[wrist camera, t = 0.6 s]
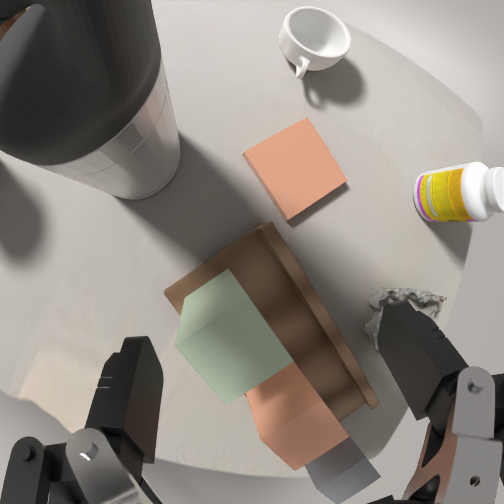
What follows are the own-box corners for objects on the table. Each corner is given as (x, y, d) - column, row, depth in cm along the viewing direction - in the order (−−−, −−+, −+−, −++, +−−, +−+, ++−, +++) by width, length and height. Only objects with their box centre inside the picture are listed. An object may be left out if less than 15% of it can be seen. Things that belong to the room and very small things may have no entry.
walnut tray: (165, 289, 29) (160, 297, 25) (263, 222, 30) (272, 221, 27) (293, 442, 33) (300, 458, 29) (367, 391, 34) (380, 403, 31)
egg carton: (429, 290, 35) (450, 296, 31) (416, 342, 35) (434, 351, 31) (371, 280, 33) (391, 286, 29) (356, 340, 33) (373, 353, 29)
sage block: (184, 297, 27) (174, 345, 16) (228, 268, 28) (248, 296, 16) (215, 338, 28) (226, 404, 16) (257, 309, 29) (293, 361, 17)
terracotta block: (237, 366, 29) (260, 439, 17) (278, 339, 29) (322, 400, 18) (263, 397, 30) (295, 470, 18) (301, 372, 30) (349, 436, 18)
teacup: (283, 22, 29) (295, -3, 23) (338, 46, 30) (356, 25, 25) (258, 77, 29) (269, 52, 23) (321, 103, 30) (341, 84, 25)
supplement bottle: (421, 229, 34) (498, 232, 21) (404, 181, 33) (481, 167, 20) (449, 210, 34) (521, 208, 22) (434, 165, 33) (506, 150, 21)
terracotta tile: (242, 154, 29) (244, 152, 28) (303, 120, 30) (307, 117, 29) (285, 220, 30) (288, 220, 29) (342, 182, 31) (347, 180, 30)
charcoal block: (281, 418, 30) (316, 488, 18) (317, 394, 31) (365, 457, 19) (301, 439, 31) (337, 504, 19) (334, 417, 32) (381, 476, 20)
